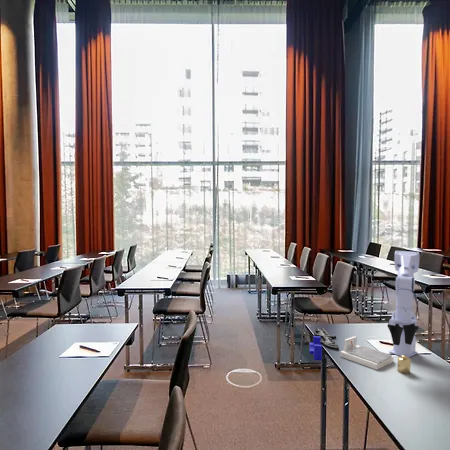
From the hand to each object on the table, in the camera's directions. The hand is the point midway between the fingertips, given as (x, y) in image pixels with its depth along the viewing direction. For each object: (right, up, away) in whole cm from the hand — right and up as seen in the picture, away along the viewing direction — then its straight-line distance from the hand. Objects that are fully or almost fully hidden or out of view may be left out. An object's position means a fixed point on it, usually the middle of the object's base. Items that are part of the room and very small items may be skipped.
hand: (402, 344), depth 142 cm
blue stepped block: (-29, -9, +15) cm, 34 cm away
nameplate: (-19, -9, +34) cm, 40 cm away
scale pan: (-8, -8, +10) cm, 15 cm away
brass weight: (+1, -10, 0) cm, 10 cm away
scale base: (-9, -10, +12) cm, 18 cm away
